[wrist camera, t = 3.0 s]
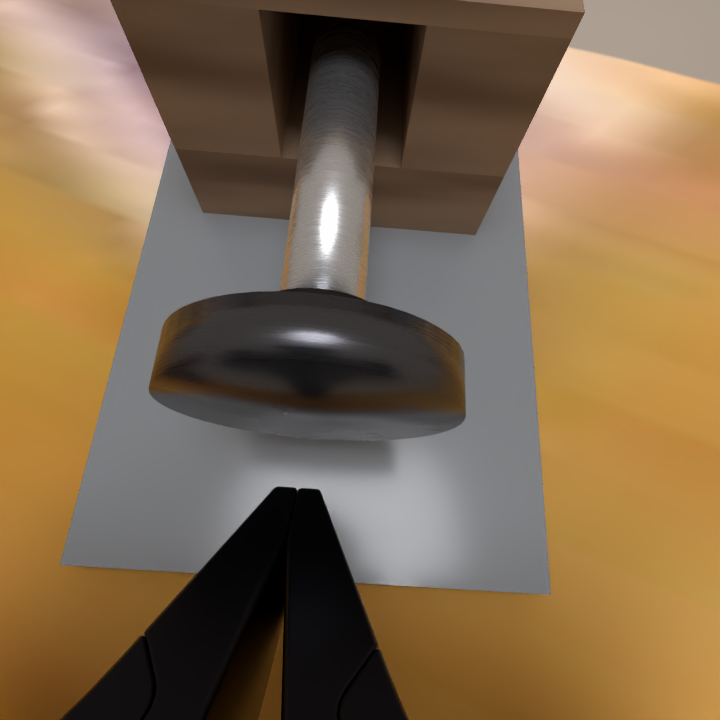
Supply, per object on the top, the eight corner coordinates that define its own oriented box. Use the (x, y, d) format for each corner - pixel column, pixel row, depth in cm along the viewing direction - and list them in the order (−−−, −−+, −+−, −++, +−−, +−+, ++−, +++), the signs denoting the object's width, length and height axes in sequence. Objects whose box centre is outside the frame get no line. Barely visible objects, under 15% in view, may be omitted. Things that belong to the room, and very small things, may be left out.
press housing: (475, 235, 18) (584, 12, 10) (203, 212, 18) (95, -35, 10) (470, 59, 22) (549, -213, 14) (240, 38, 21) (182, -252, 13)
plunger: (430, 446, 13) (517, 381, 7) (202, 431, 12) (76, 349, 6) (433, 152, 16) (490, -66, 10) (255, 136, 16) (206, -94, 10)
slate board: (537, 589, 15) (550, 594, 14) (78, 562, 14) (59, 564, 13) (504, 82, 23) (511, 63, 22) (204, 54, 22) (198, 34, 21)
